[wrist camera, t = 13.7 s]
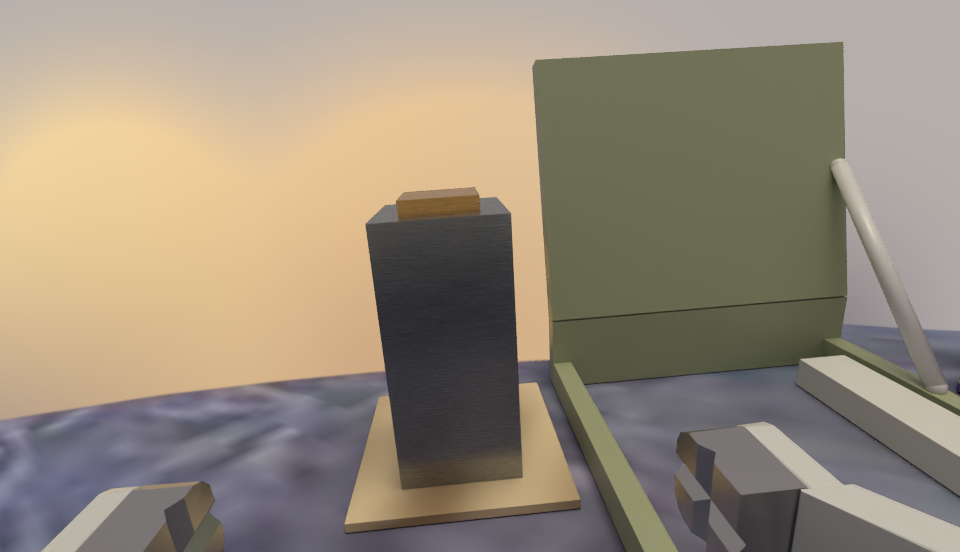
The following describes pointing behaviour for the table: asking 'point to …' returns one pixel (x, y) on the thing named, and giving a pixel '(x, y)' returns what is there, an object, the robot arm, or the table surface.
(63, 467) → the table surface
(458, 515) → the pad
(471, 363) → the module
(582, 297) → the case
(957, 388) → the supplement box
